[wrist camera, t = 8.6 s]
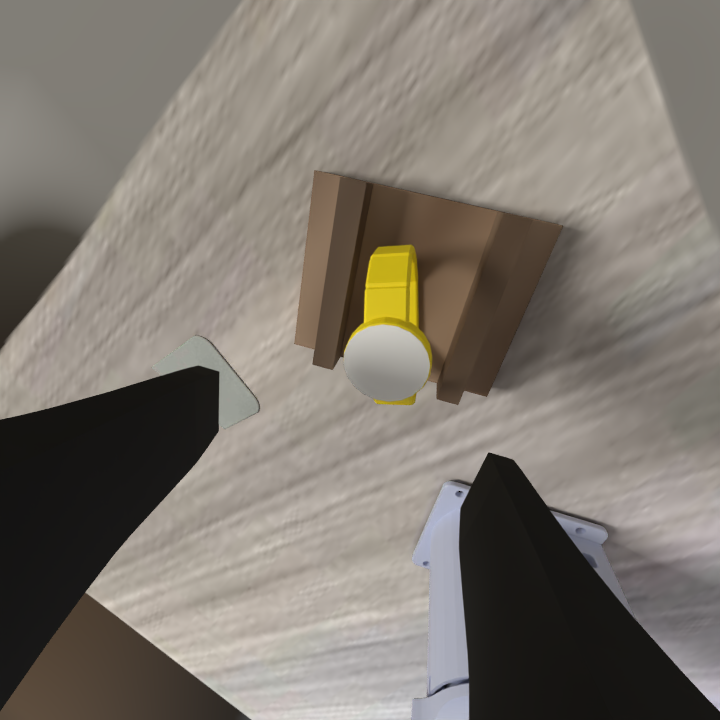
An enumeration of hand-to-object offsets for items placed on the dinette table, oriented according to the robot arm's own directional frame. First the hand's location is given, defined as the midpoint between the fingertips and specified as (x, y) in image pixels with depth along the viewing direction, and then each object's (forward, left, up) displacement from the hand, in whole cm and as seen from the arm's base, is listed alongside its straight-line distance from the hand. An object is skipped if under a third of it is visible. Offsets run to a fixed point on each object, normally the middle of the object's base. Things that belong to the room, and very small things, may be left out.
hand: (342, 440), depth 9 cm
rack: (-1, -2, -9) cm, 10 cm away
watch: (0, -1, -9) cm, 9 cm away
